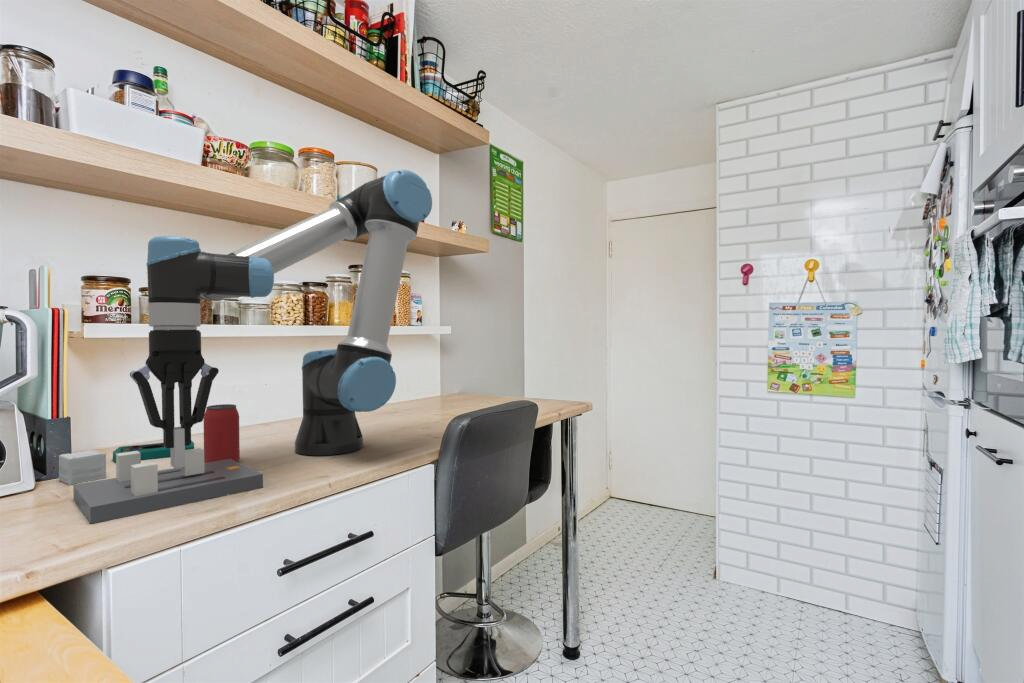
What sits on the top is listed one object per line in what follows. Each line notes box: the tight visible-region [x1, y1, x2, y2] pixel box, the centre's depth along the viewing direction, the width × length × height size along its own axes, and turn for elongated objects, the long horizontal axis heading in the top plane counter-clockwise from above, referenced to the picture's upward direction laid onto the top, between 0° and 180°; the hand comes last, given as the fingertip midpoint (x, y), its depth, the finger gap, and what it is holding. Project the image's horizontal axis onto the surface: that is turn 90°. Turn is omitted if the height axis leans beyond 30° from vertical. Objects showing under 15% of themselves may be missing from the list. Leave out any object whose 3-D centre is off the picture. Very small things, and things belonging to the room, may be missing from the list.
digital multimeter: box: [112, 440, 195, 464], centre depth 116 cm, size 7×15×3 cm, turn 124°
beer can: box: [203, 403, 241, 463], centre depth 109 cm, size 7×7×12 cm
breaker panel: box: [72, 451, 264, 525], centre depth 89 cm, size 24×16×7 cm, turn 137°
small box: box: [58, 449, 107, 486], centre depth 97 cm, size 6×6×5 cm
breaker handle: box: [181, 447, 204, 476], centre depth 91 cm, size 3×2×4 cm
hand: (177, 465), depth 90 cm, fingers closed
